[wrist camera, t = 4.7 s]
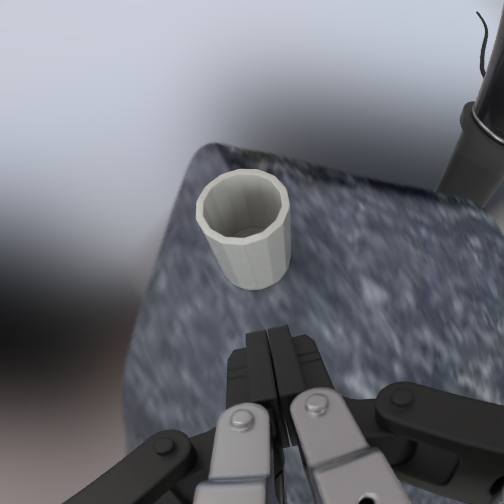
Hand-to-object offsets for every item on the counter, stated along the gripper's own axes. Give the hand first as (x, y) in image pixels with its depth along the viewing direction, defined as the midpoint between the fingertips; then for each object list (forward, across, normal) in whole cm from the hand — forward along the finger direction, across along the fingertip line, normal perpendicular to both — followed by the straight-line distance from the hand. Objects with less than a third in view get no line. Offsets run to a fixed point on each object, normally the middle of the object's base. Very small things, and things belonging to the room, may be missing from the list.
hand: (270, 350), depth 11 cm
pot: (+16, 0, +1) cm, 16 cm away
